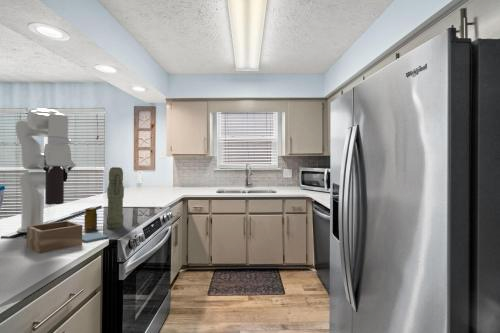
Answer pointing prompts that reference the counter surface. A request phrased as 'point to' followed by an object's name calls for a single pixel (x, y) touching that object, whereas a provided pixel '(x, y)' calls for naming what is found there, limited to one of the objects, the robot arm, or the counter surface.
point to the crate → (54, 236)
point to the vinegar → (54, 186)
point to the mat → (93, 237)
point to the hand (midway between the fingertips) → (57, 181)
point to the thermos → (115, 198)
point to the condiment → (91, 220)
